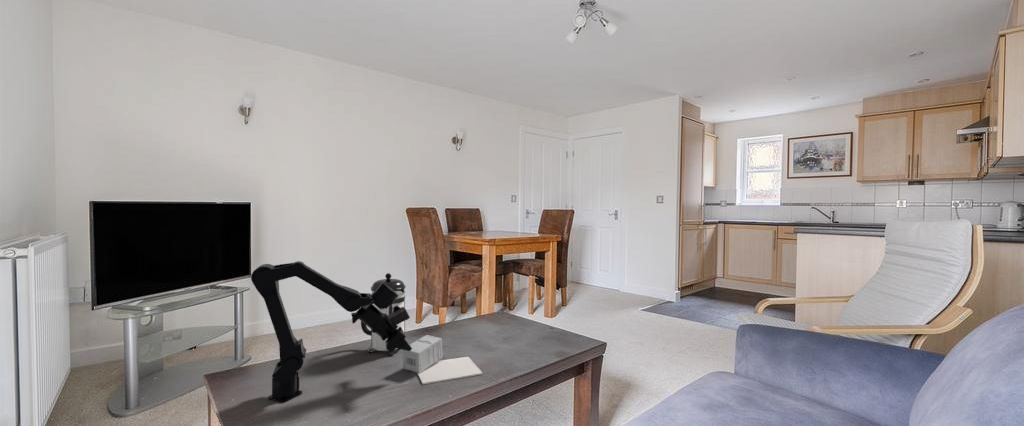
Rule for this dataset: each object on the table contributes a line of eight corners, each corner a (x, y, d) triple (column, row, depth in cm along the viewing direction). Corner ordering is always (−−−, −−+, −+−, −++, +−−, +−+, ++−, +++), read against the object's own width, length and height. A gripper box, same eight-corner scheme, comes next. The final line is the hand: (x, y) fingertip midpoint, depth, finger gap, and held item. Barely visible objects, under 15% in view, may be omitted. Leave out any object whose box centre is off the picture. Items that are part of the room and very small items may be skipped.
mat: (422, 384, 126) (422, 383, 126) (413, 366, 141) (413, 364, 141) (482, 374, 134) (482, 372, 134) (468, 357, 149) (468, 356, 149)
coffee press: (405, 341, 167) (405, 269, 167) (410, 354, 152) (410, 275, 152) (360, 346, 161) (360, 271, 160) (361, 360, 146) (361, 277, 146)
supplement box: (401, 348, 136) (425, 334, 147) (402, 369, 137) (426, 353, 148) (419, 352, 132) (442, 337, 144) (420, 373, 133) (443, 357, 145)
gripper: (398, 307, 122) (434, 338, 126) (390, 294, 139) (422, 322, 143) (370, 336, 119) (408, 367, 123) (366, 319, 136) (399, 347, 140)
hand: (410, 349), depth 133 cm, fingers closed
